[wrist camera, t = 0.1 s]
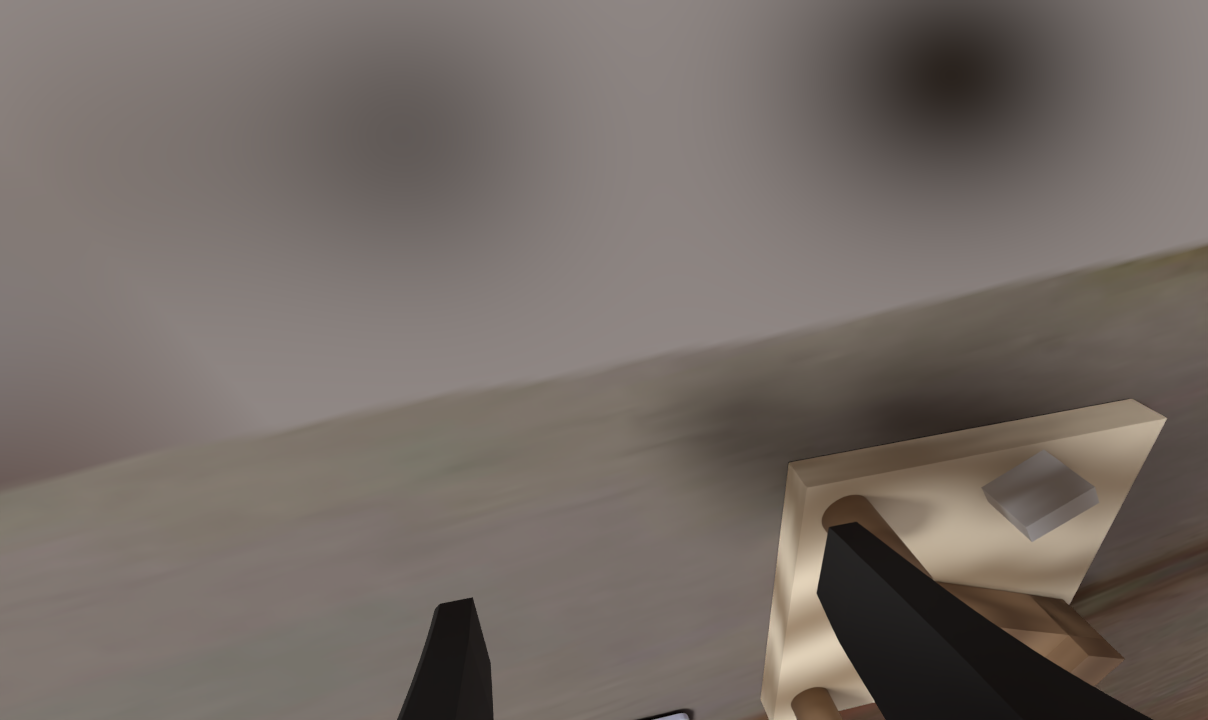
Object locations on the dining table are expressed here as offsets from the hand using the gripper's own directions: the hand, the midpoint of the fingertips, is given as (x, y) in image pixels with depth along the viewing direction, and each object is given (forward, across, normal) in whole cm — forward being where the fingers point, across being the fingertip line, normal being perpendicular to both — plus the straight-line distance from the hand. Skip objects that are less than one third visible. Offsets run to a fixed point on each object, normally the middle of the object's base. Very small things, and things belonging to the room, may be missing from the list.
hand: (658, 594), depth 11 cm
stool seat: (+10, -17, +16) cm, 25 cm away
